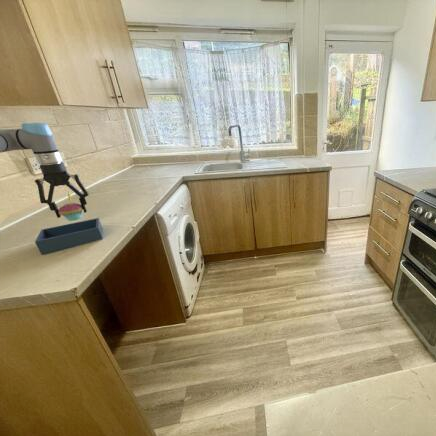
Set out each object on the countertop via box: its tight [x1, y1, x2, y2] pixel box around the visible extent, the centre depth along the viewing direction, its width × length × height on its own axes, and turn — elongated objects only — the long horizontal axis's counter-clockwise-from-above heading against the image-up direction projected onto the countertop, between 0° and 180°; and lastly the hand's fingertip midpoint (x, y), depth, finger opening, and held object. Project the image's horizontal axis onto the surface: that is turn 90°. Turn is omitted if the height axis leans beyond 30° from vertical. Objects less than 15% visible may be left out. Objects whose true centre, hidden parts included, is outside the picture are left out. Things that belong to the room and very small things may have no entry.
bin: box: [34, 217, 104, 255], centre depth 98 cm, size 19×13×6 cm
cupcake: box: [58, 191, 84, 222], centre depth 107 cm, size 9×8×12 cm
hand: (72, 214), depth 109 cm, fingers closed on cupcake, 8 cm apart
